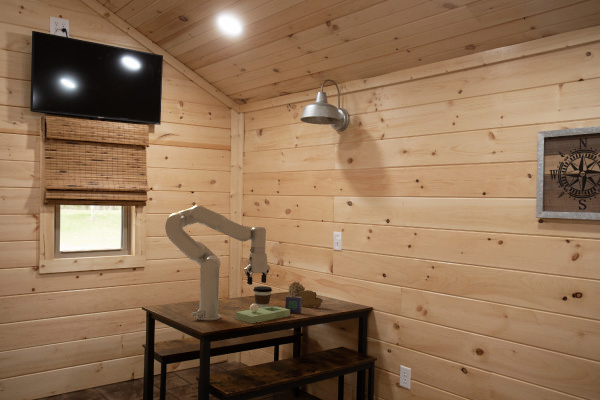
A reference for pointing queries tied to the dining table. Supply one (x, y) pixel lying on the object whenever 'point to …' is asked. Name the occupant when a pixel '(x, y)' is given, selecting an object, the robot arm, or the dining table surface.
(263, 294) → the coffee cup
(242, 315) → the green tray with wells
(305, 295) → the wooden carving
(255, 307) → the ball
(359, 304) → the dining table surface
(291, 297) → the blue box
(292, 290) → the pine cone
